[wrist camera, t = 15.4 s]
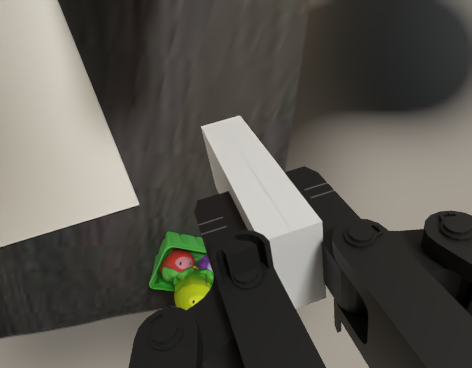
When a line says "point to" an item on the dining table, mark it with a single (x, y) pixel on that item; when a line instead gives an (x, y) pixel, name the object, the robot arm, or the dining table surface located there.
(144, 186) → the dining table surface
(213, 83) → the dining table surface
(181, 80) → the dining table surface
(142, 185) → the dining table surface
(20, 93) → the card
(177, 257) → the fruit basket
